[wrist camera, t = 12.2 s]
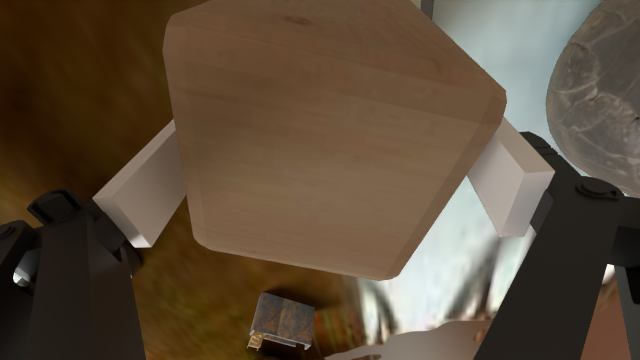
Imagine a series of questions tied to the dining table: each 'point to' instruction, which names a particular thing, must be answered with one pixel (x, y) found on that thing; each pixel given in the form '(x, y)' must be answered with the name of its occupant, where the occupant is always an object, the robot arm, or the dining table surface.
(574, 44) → the bowl
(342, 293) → the dining table surface
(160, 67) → the dining table surface
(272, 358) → the vase
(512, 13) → the dining table surface
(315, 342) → the dining table surface
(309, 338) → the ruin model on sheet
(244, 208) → the wooden block
